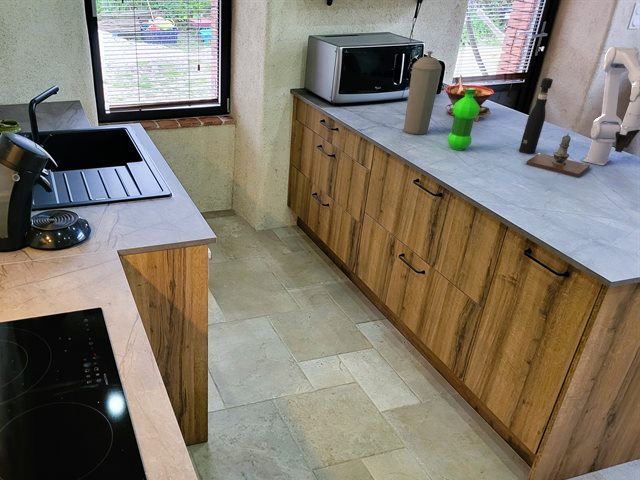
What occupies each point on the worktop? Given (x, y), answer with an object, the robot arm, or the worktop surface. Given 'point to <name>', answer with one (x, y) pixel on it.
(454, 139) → the plastic bottle
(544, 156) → the cutting board
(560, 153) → the grey stone baluster
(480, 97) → the stew
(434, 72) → the canister
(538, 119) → the black bottle
